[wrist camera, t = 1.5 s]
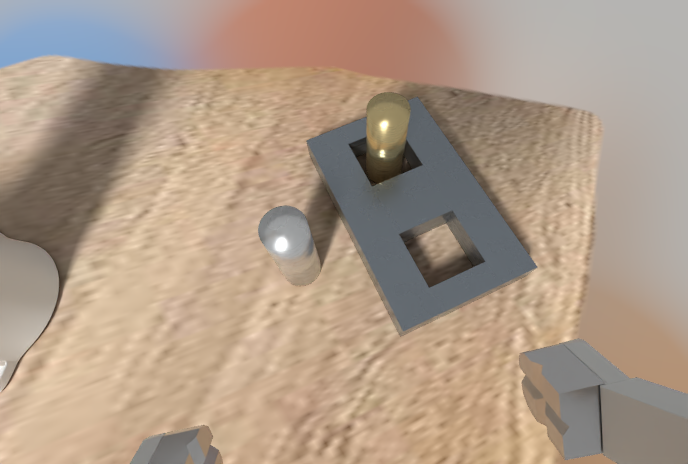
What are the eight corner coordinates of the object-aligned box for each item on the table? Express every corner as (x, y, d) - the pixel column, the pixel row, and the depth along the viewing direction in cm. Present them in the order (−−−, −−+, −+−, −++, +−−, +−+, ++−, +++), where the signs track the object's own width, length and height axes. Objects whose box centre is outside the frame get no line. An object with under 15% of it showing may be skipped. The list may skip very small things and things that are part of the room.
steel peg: (290, 292, 38) (268, 259, 29) (277, 258, 40) (251, 217, 31) (327, 276, 39) (315, 238, 30) (312, 243, 40) (297, 198, 31)
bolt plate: (400, 336, 36) (412, 315, 27) (309, 156, 45) (296, 94, 36) (525, 276, 38) (576, 238, 29) (414, 114, 47) (426, 45, 38)
